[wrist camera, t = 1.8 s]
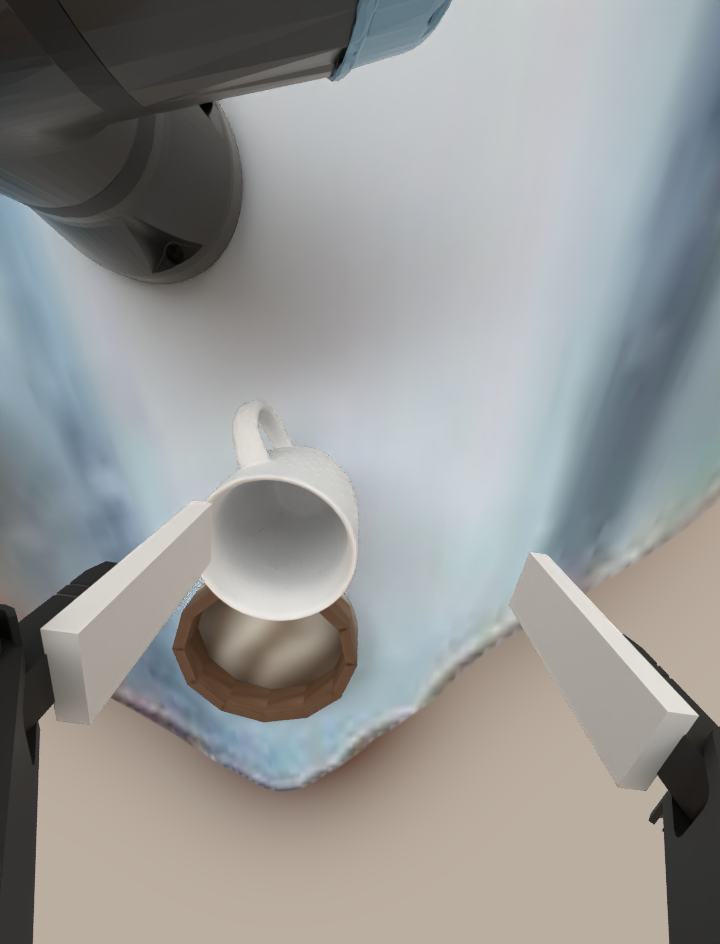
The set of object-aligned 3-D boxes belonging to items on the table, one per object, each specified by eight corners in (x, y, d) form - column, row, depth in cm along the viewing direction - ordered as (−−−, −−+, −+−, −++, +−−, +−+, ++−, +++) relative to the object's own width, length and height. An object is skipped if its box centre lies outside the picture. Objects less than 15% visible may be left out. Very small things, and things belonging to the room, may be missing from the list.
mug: (217, 411, 32) (124, 444, 19) (326, 375, 31) (302, 385, 18) (276, 543, 36) (231, 638, 24) (373, 516, 35) (379, 601, 23)
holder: (174, 666, 42) (157, 694, 38) (211, 534, 36) (194, 553, 32) (325, 708, 44) (321, 739, 40) (383, 590, 38) (385, 615, 34)
